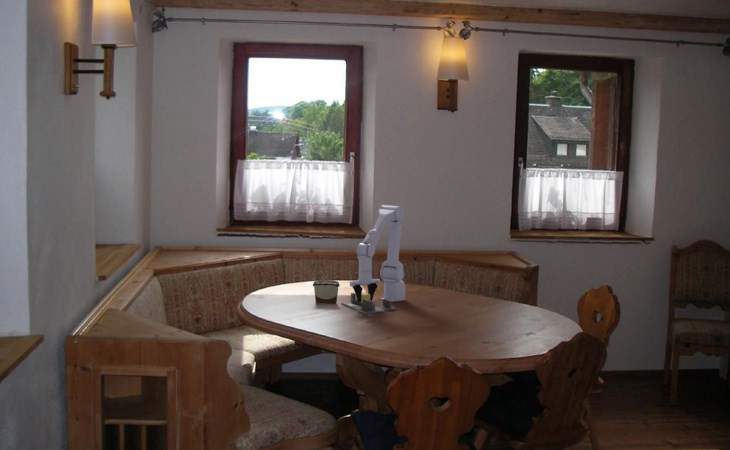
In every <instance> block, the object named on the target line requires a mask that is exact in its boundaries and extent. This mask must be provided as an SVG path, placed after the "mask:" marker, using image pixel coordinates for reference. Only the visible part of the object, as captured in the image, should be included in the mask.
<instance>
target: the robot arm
mask: <svg viewBox="0 0 730 450" xmlns="http://www.w3.org/2000/svg"><path fill="white" fill-rule="evenodd" d="M404 215H405V211H404V209H403V207H402V206H400V205H387V204H382V205H381V206H380V207H379V209H378V217H377V220H376V222H375V224H374V226H373V228H372V229H370V230H369V231H368V232H367V234H366V236H365V237H364V239H363V240H362V242H360V243H359V244H358V245H357V246H356V249H355V254H356V255H357V260H358V279H356V280H353V281H352V280H351V281H349V287H352V290H353V291H354V293H355V294H356V299H357V301H358V302H361V295H362V293H363V289H364V287H362V286H367V291H368V292H367V293H369V294H370V301H371V302H373V299H374V295H375V293H376V290H377V289H378V285H379V284H380V285H381V279H382V281H383V297H379V300H382V301H383V299H387V300H390V301H391V303H393V302H402V301H406V300H407V299H406V283H405V282H404V281H403V279H404V277H405V272H404V264H403V263H402V262H401V261H400V260H399V257H400V256H399V255H400V247H401V245H400V243H401V233H402V225H403V223H404ZM387 224H388V225H389V234H388V235H389V236H388V244H387V245H388V246H387V258H386V260H384V261H383V262H382V263H381V269H380V271H379V274H380V278H381V279H380V278H373V276H372V275H373V273H372V271H373V257H374V255H375V253H376V248H377V244H378V242H379V240H380V239H381V233H382V231H383V230H384V228H385V227H386V226H387Z"/></svg>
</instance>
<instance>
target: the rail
mask: <svg viewBox="0 0 730 450" xmlns="http://www.w3.org/2000/svg"><path fill="white" fill-rule="evenodd" d="M340 305H342V306H345V307H347V308H349V309H352V310H353V311H357V312H358V313H362V314H364V315H370V314H378V313H385V312H386V311H385V310H384V309H382V308H379V307H377V306H378V305H377V306H376V302H373V301H368V300H367V299H363V303H361V302H358V301H357V297H356V294H355V292H350V301H344V302H341V303H340Z"/></svg>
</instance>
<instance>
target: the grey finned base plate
mask: <svg viewBox="0 0 730 450" xmlns="http://www.w3.org/2000/svg"><path fill="white" fill-rule="evenodd" d="M377 307H379V308H382V309H384V310H385V312H391V311H397V310H398V308H397V307H396V306H393V305H392V302H391V301H390V300H387V299H383V300H382V305H377Z"/></svg>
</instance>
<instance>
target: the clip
mask: <svg viewBox="0 0 730 450" xmlns="http://www.w3.org/2000/svg"><path fill="white" fill-rule="evenodd" d="M363 299H365V300H368V301H370V294H369V293H368V292H362V295H361V303H363Z"/></svg>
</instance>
